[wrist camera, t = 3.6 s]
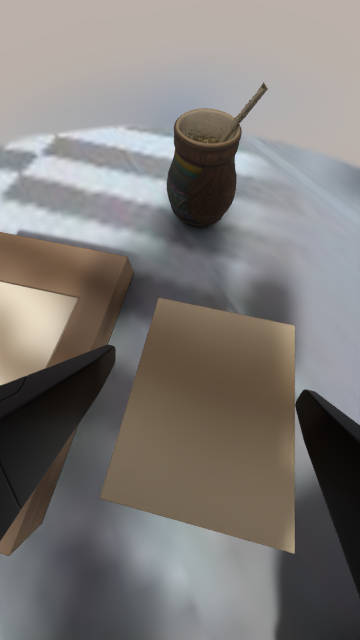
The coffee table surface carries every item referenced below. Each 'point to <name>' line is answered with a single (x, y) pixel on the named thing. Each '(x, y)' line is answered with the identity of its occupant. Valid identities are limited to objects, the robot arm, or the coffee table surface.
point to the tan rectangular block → (211, 425)
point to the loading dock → (52, 329)
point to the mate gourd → (205, 163)
